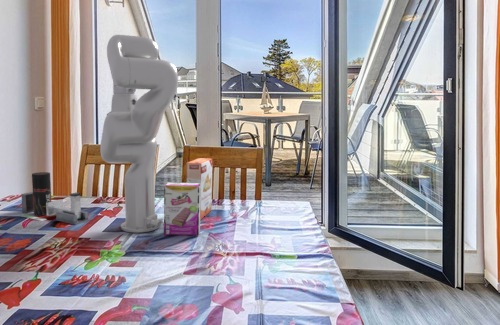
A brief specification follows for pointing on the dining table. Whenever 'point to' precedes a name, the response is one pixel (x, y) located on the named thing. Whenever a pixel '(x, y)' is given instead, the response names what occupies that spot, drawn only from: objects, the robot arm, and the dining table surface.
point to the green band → (27, 216)
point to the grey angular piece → (58, 207)
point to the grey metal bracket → (72, 217)
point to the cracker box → (202, 181)
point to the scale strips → (39, 218)
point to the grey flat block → (27, 202)
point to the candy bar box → (182, 208)
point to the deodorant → (41, 192)
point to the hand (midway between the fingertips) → (124, 137)
